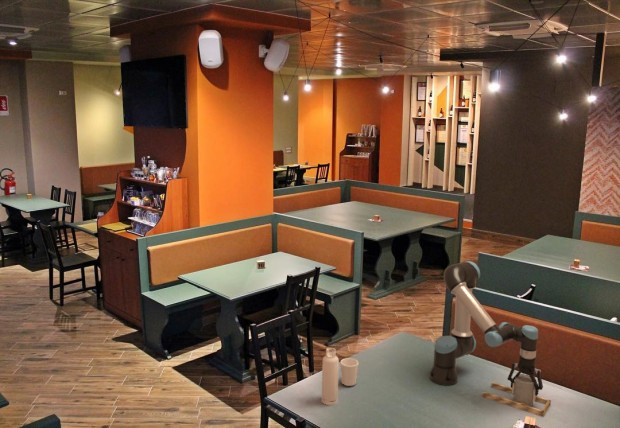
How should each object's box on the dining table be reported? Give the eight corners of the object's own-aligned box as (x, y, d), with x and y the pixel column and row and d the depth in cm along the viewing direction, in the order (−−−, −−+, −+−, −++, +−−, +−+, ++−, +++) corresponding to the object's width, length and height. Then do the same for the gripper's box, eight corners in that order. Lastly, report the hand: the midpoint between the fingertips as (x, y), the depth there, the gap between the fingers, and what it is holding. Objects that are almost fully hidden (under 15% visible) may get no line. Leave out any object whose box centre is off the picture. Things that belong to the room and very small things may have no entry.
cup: (337, 386, 291) (337, 364, 289) (342, 378, 300) (343, 356, 298) (354, 389, 287) (355, 367, 285) (360, 381, 296) (361, 360, 294)
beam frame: (482, 396, 283) (483, 391, 283) (491, 386, 294) (492, 380, 294) (543, 416, 265) (543, 410, 265) (550, 404, 276) (551, 399, 276)
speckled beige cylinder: (534, 406, 272) (537, 384, 270) (514, 404, 274) (517, 382, 272) (531, 397, 281) (533, 375, 279) (511, 395, 283) (513, 373, 281)
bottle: (339, 398, 279) (341, 347, 273) (334, 406, 271) (336, 354, 266) (324, 395, 281) (325, 345, 276) (319, 403, 274) (320, 351, 268)
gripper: (502, 352, 277) (499, 393, 281) (548, 365, 263) (544, 407, 268) (507, 347, 282) (504, 387, 287) (552, 360, 269) (548, 401, 273)
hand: (523, 397), depth 277 cm, fingers closed on speckled beige cylinder, 9 cm apart
